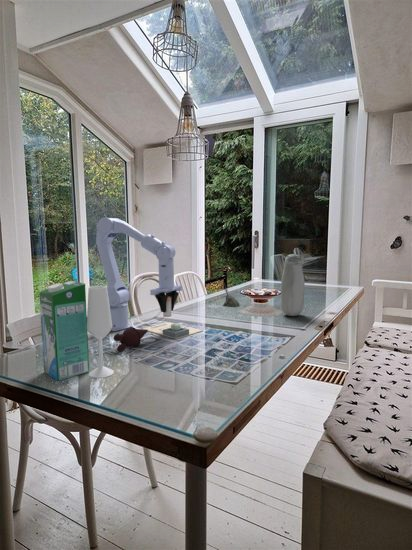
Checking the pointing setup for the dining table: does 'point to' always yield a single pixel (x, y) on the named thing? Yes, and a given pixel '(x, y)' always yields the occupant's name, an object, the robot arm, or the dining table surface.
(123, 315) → the robot arm
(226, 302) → the sword in stone
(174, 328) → the button
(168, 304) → the marker
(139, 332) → the dark red figurine
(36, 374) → the dining table surface
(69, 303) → the milk carton
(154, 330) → the beige board
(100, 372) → the champagne flute
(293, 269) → the grey bottle
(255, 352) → the dining table surface
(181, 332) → the button housing
